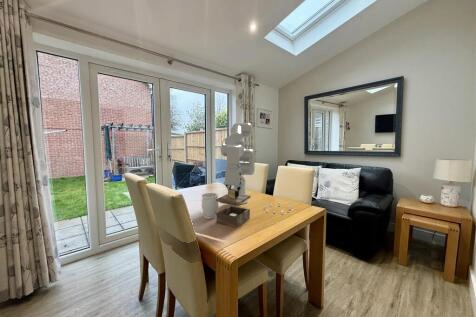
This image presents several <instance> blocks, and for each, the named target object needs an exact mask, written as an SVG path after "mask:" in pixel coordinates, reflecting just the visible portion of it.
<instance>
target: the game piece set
mask: <svg viewBox="0 0 476 317" xmlns="http://www.w3.org/2000/svg"><path fill="white" fill-rule="evenodd" d="M277 203H278V206H279V207H281V204H282V202H280V201H279V202H277ZM267 204H268V202H266V203H265V205H264V207H263V209H266V208H268V207H269V206H268V205H267ZM270 206H271V207H273V203H272V202H270ZM286 207H287V208H288V210H287V211H286V213H288V212H289V213H290V210H291V208H292V206H291V205H289V206H288V205H287V206H286ZM289 209H290V210H289ZM265 212H266V213H269V210H268V209H266V210H265ZM280 212H281V213H282V214H281V215H284V210H280ZM273 213H274V214H275V213H276V211H275V210H273V211H272V214H273Z"/></svg>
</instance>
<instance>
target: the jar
mask: <svg viewBox="0 0 476 317" xmlns="http://www.w3.org/2000/svg"><path fill="white" fill-rule="evenodd" d="M201 198H202V199H201V210H202V213H203V214H202V215H203V217H204V218H205V219H210V220H211V219H215V218H216V213H218V212H219V202H216V199H218V198H219V194H218V193H213V192H208V193H203V194H201Z"/></svg>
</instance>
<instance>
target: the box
mask: <svg viewBox="0 0 476 317" xmlns="http://www.w3.org/2000/svg"><path fill="white" fill-rule="evenodd" d="M231 213H235V214H238V216H236V217H235V216H231V215H230V214H231ZM250 216H251V209H249V208H244V207H240V206H234V205H229V206H228V207H225V208H224V209H222V210H220V211H217V213H216V217H215V218H216V220H215V221H216V224H218V225H219V224H220V225H223V226H227V227H231V228H236V229H238V228H239V227H240V226H242V225H243V224H244V223H247V221H248V220H250V218H251V217H250Z"/></svg>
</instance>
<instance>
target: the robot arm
mask: <svg viewBox="0 0 476 317" xmlns="http://www.w3.org/2000/svg"><path fill="white" fill-rule="evenodd" d="M253 134H254V128H253V124H252V123H251V122H236V123H233V124H232V127H230V135H228V136H227V137H225V138H224V139H223V140H222V143H221V147H220V153H221V154H220V155H221V156H223V157H225V158H226V168H225V172H224V174H225V175H224V181H223V185H224V186H225V188H226V189H227V194H228V196H229V190H230V189H232V187H233V188H234V189H236V191H235V197H238V196H239V194H243V195H246V178H245V177H244V176H252V175H254V174H255V167H256V166H255V160H256V159H255V157H256V156H255V152H254V150H253V149H251V148H246V142H245V140H244V139H243V138H251V137H253ZM247 203H248V199H247V200H246V201H244V202H242V203H240V204H239V205H245V204H247Z"/></svg>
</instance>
